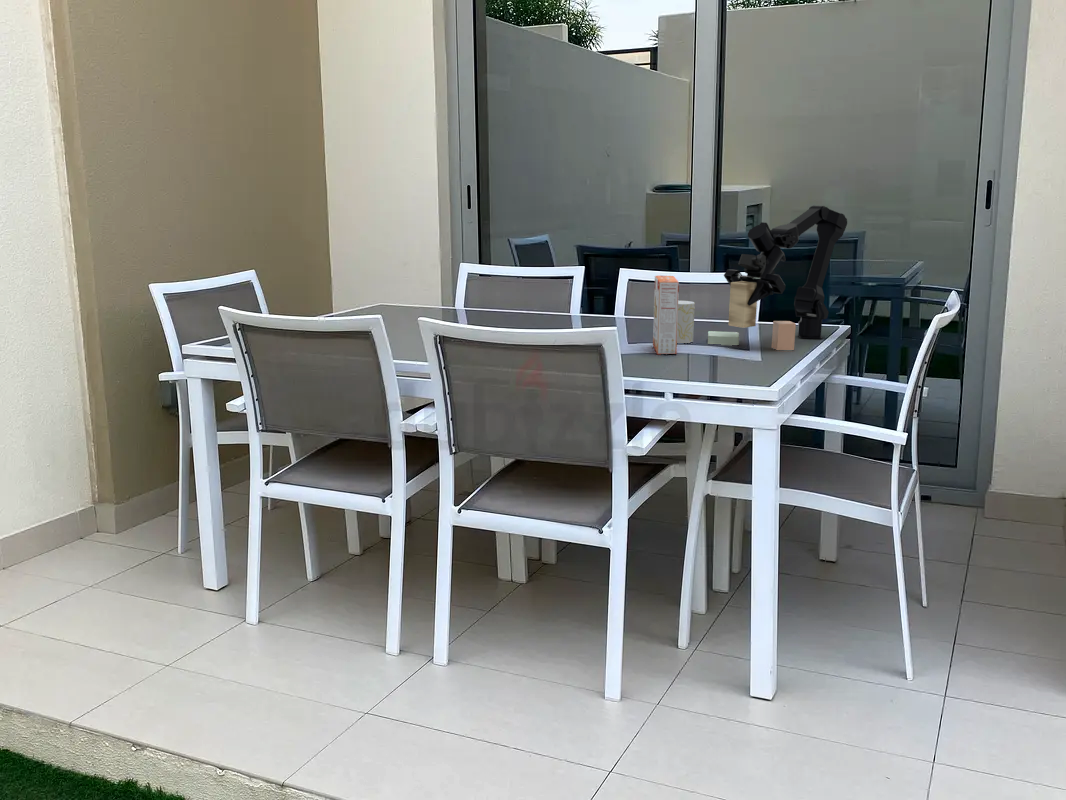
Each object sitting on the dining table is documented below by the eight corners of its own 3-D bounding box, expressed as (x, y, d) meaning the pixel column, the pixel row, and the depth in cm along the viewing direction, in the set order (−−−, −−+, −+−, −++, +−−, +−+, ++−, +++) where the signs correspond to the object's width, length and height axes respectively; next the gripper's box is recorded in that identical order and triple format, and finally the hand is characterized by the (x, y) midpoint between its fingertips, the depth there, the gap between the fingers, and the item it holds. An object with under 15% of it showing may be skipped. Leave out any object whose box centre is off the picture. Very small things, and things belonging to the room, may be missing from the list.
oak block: (740, 323, 303) (742, 281, 300) (755, 326, 299) (758, 282, 296) (728, 325, 300) (730, 282, 297) (743, 327, 296) (746, 284, 293)
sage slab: (737, 342, 315) (738, 332, 314) (738, 347, 306) (739, 337, 306) (707, 340, 316) (708, 331, 316) (707, 345, 308) (708, 335, 307)
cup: (676, 345, 306) (677, 304, 303) (660, 340, 313) (662, 301, 310) (698, 343, 310) (700, 303, 307) (682, 338, 317) (684, 299, 314)
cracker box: (651, 346, 303) (654, 275, 299) (671, 346, 303) (675, 275, 299) (655, 355, 290) (658, 280, 285) (676, 355, 290) (680, 280, 285)
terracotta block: (787, 348, 304) (789, 321, 302) (793, 351, 299) (795, 323, 297) (771, 348, 303) (773, 321, 301) (777, 351, 298) (778, 323, 296)
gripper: (729, 241, 304) (703, 281, 299) (782, 246, 290) (755, 288, 285) (744, 267, 310) (719, 306, 306) (796, 272, 296) (770, 314, 292)
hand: (740, 303), depth 297 cm, fingers closed on oak block, 5 cm apart
